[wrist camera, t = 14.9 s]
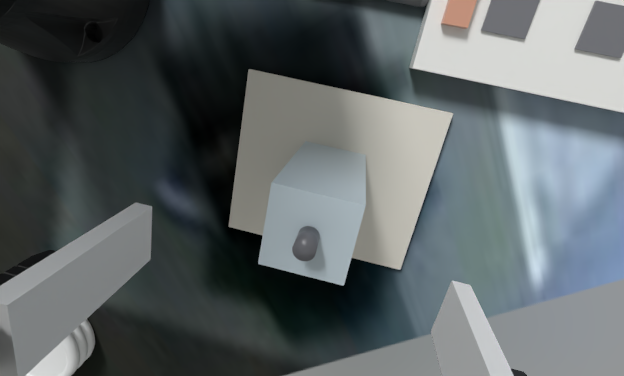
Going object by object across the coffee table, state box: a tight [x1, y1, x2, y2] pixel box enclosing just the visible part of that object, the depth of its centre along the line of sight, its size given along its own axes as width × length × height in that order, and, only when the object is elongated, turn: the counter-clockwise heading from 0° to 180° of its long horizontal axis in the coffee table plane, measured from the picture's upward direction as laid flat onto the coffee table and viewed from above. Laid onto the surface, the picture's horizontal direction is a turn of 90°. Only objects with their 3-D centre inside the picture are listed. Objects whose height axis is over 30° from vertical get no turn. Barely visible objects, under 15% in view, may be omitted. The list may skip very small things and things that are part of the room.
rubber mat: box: [229, 69, 453, 270], centre depth 29 cm, size 16×14×1 cm
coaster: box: [25, 319, 95, 376], centre depth 39 cm, size 10×10×4 cm
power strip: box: [387, 0, 624, 113], centre depth 23 cm, size 37×9×3 cm, turn 78°
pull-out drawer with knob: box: [258, 141, 366, 286], centre depth 23 cm, size 5×5×13 cm
